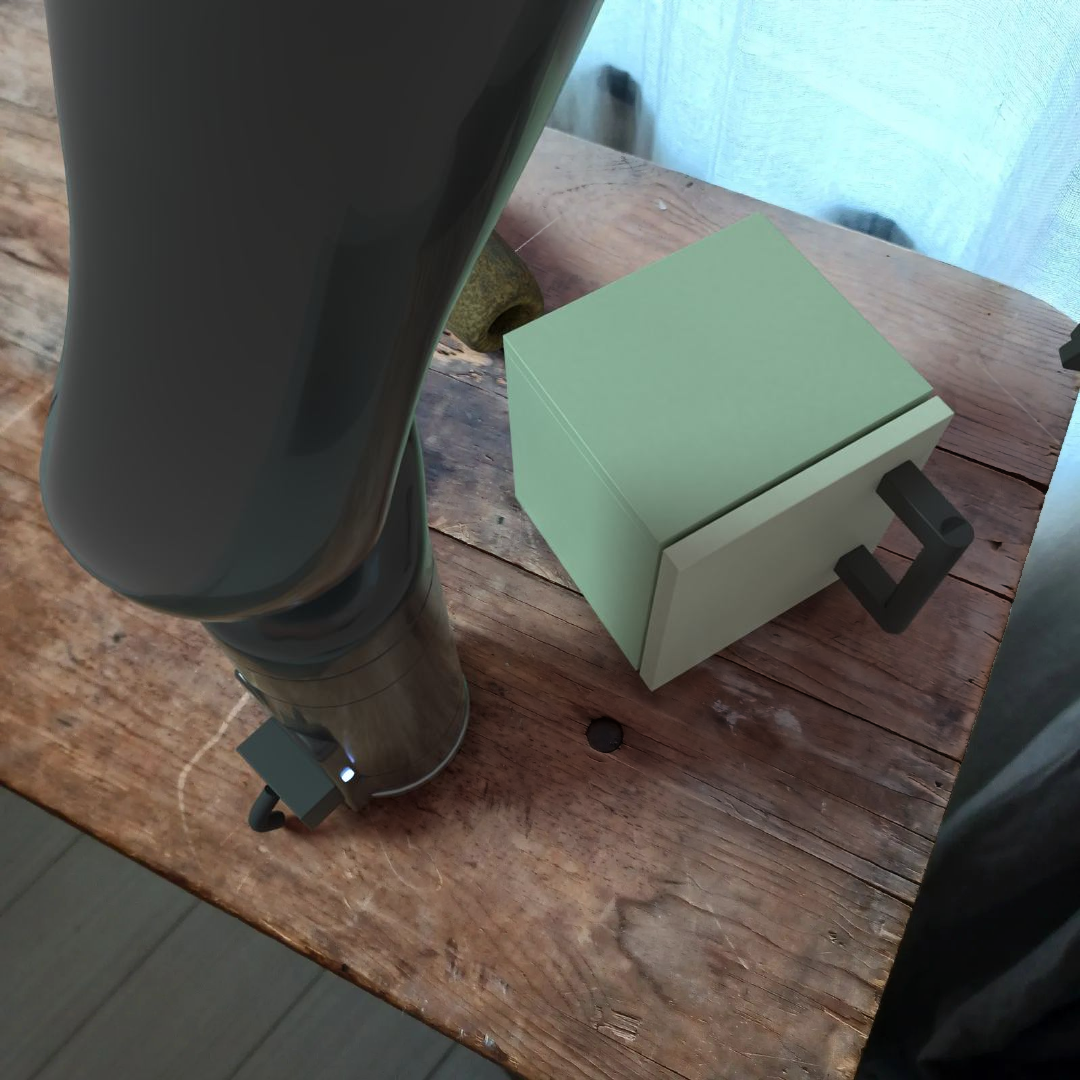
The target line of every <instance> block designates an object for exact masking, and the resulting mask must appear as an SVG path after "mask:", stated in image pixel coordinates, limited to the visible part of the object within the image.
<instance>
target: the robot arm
mask: <svg viewBox="0 0 1080 1080" xmlns="http://www.w3.org/2000/svg"><path fill="white" fill-rule="evenodd" d="M605 1H606V0H43V4H44V13H45V21H46V22H45V23H46V30H47V31H46V32H47V38H48V39H47V40H48V46H49V48H48V49H49V54H50V56H49V57H50V64H51V73H52V82H53V89H54V90H53V91H54V99H55V106H56V113H57V120H58V128H59V135H60V143H61V151H62V159H63V167H64V174H65V175H64V176H65V187H66V196H67V197H66V198H67V208H68V209H67V210H68V219H69V223H68V224H69V225H68V226H69V276H68V277H69V279H68V295H67V311H66V312H67V313H66V321H65V328H64V329H65V331H64V339H63V344H62V345H63V346H62V350H61V354H60V358H59V363H58V368H57V373H56V378H55V382H54V387H53V391H52V396H51V400H50V404H49V411H48V414H47V419H46V423H45V428H44V433H43V439H42V440H43V441H42V446H41V451H40V452H41V453H40V459H39V471H38V472H39V473H38V474H39V490H40V496H41V502H42V506H43V508H44V511H45V512H44V513H45V514H46V517H47V520H48V522H49V524H50V526H51V527H52V530H53V531H54V533H55V534H56V537H57V538H58V539H59V541H60V543H61V544H62V546H63V547H64V548H65V550H66V551H67V552H68V554H69V555H70V556H71V557H72V558H73V559H74V561H76V563H77V564H78V565H79V566H80V567H81V568H82V569H83V570H85V571H86V572H87V573H88V574H89V575H90V576H91V577H92V578H94V579H95V580H96V581H98V582H99V583H101V584H102V585H103V586H105V587H106V588H108V589H109V590H110V591H112V592H113V593H115V594H116V595H118V596H120V597H121V598H124V599H125V600H127V601H129V602H130V603H133V604H136V605H137V606H139V607H141V608H145V609H147V610H150V611H153V612H155V613H159V614H161V615H165V616H169V617H171V618H177V619H182V620H185V621H194V622H199V623H200V624H201V626H202V627H203V629H204V630H205V632H206V633H207V634H208V635H209V637H210V638H211V640H213V641H214V643H215V644H216V645H217V646H218V648H219V649H220V651H222V653H223V654H224V655H225V657H226V658H227V659H228V661H229V662H230V663H231V665H232V666H233V667H234V671H233V675H234V676H235V678H236V680H237V681H238V682H239V684H240V685H241V686H242V687H243V688H244V690H245V691H246V692H247V694H248V695H249V696H250V697H251V699H252V700H253V702H254V703H255V704H256V705H257V706H258V707H259V709H260V710H261V711H262V713H263V714H264V715H265V716H266V717H267V720H266V721H264V722H263V723H262V724H260V726H259V727H257V728H256V730H254V731H253V732H252V733H251V734H250V735H249V736H248V737H247V738H246V739H244V740H243V741H242V742H241V743H240V744H239V745H238V746H236V747H235V751H236V752H237V753H238V754H239V755H240V756H241V758H243V760H244V761H245V762H246V763H247V764H248V765H249V766H250V767H251V769H253V771H254V772H255V773H256V774H257V775H258V776H259V777H260V778H261V779H262V780H263V782H264V783H266V785H265V786H264V787H263V789H262V790H261V792H260V794H259V795H258V796H257V798H256V799H255V802H253V804H252V806H251V807H250V810H249V813H248V817H247V822H248V825H249V827H250V829H251V830H252V831H253V832H257V833H260V834H263V833H268V832H272V831H276V830H280V829H281V828H283V827H284V825H285V824H286V815H285V813H284V812H283V811H282V810H279V809H277V810H274V809H275V807H276V806H277V804H278V802H279V801H280V800H281V801H282V802H283V803H284V804H285V805H286V806H287V807H288V809H289V810H290V811H291V812H292V813H293V814H294V815H295V816H296V818H298V819H299V820H300V822H302V823H303V824H304V825H305V826H306V828H307V829H309V831H314V830H315V829H316V828H317V827H318V826H319V825H320V824H321V823H323V822H324V820H325V819H327V818H328V817H329V816H330V815H331V814H332V813H333V812H334V811H335V810H336V809H337V808H338V807H339V806H340V805H342V803H343V802H344V803H345V804H346V805H347V806H348V807H349V808H350V810H352V811H354V812H360V811H362V809H364V808H365V807H366V806H367V805H368V804H369V803H370V802H371V801H373V800H374V799H377V800H379V799H389V798H394V797H399V796H402V795H405V794H409V793H412V792H413V791H416V790H418V789H420V788H422V787H423V786H425V785H427V784H428V783H430V782H431V781H433V780H434V779H435V778H437V777H438V776H439V775H440V774H441V773H442V772H443V771H444V770H445V769H446V768H447V767H448V766H449V765H450V764H451V762H452V761H453V760H454V758H455V757H456V755H457V753H458V752H459V751H460V750H461V747H462V744H463V743H464V740H465V738H466V735H467V732H468V728H469V725H470V724H469V723H470V718H471V697H470V691H469V687H468V684H467V680H466V677H465V674H464V671H463V668H462V665H461V662H460V658H459V654H458V649H457V645H456V642H455V637H454V633H453V632H454V631H453V629H452V625H451V621H450V615H449V612H448V608H447V604H446V598H445V594H444V591H443V586H442V582H441V579H440V575H439V569H438V565H437V560H436V556H435V553H434V548H433V543H432V539H431V536H430V529H429V518H428V503H427V488H426V487H427V486H426V474H425V464H424V455H423V449H422V442H421V437H420V432H419V426H418V422H417V416H416V411H417V408H418V405H419V400H420V397H421V393H422V391H423V388H424V383H425V381H426V378H427V375H428V372H429V369H430V367H431V363H432V360H433V357H434V354H435V352H436V349H437V348H438V345H439V342H440V340H441V338H442V335H443V332H444V330H445V328H446V326H445V325H446V323H447V320H448V318H449V316H450V313H451V311H452V309H453V307H454V305H455V303H456V301H457V299H458V297H459V295H460V293H461V291H462V289H463V287H464V285H465V283H466V281H467V279H468V277H469V275H470V273H471V271H472V269H473V267H474V265H475V263H476V261H477V259H478V257H479V256H480V254H481V252H482V250H483V248H484V246H485V244H486V242H487V241H488V239H489V237H490V235H491V233H492V231H493V229H495V227H496V225H497V224H498V222H499V220H500V218H501V216H502V215H503V212H504V210H505V208H506V206H507V204H508V203H509V200H510V199H511V196H512V194H513V192H514V190H515V188H516V186H517V184H518V182H519V180H520V178H521V176H522V174H523V172H524V170H525V168H526V166H527V164H528V162H529V160H530V158H531V156H532V154H533V152H534V150H535V148H536V146H537V144H538V142H539V140H540V139H541V136H542V134H543V132H544V129H545V127H546V125H547V123H548V121H549V119H550V117H551V115H552V113H553V112H554V109H555V107H556V105H557V103H558V100H559V98H560V96H561V94H562V92H563V90H564V88H565V86H566V84H567V82H568V80H569V78H570V76H571V74H572V72H573V70H574V67H575V65H576V63H577V61H578V59H579V57H580V55H581V53H582V50H583V49H584V46H585V44H586V42H587V40H588V38H589V36H590V34H591V32H592V29H593V27H594V25H595V22H596V21H597V18H598V16H599V14H600V11H601V10H602V8H603V5H604V3H605ZM1069 336H1070V340H1069V341H1067V342H1066V343H1064V344H1063V345H1061V346H1060V347H1059V348H1058V355H1059V359H1060V363H1061V367H1062V368H1063V369H1065V370H1070V371H1075V372H1079V373H1080V322H1079V323H1078V324H1077V325H1076V327H1074V329H1073V330H1072V331H1071V332H1070V334H1069Z"/></svg>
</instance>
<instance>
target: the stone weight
mask: <svg viewBox="0 0 1080 1080" xmlns="http://www.w3.org/2000/svg"><path fill="white" fill-rule="evenodd" d="M544 298H545V297H544V294H543V291H542V287H540V285H539V282H538V281H537V279H536V277H535V275H534V274H533V272H532V271H531V269H530V267H529V266H528V265H527V263H526V262H525V261H524V260H523V259H522V258H521V257H520V255H519V254H518V253H517V252H516V251H515V249H514V248H513V247H512V246H511V245H510V244H509V243H508V242H507V240H506V239H504V237H502V235H500V233H499V232H497V230H496V229H495V228H494V229H493V231H492V233H491V235H490V237H489V239H488V241H487V242H486V244H485V246H484V248H483V250H482V252H481V254H480V256H479V257H478V259H477V261H476V263H475V265H474V267H473V269H472V271H471V273H470V275H469V277H468V279H467V281H466V283H465V285H464V287H463V289H462V291H461V293H460V295H459V297H458V299H457V301H456V303H455V305H454V307H453V309H452V311H451V313H450V316H449V318H448V320H447V323H446V325H445V328H446V329H447V330H449V332H451V333H452V335H454V336H455V337H456V338H457V339H458V340H459V341H460V342H461V343H463V344H464V345H465V346H467V348H469V349H470V350H472V351H473V352H477V353H479V354H490V353H493V352H496V351H498V350H500V349H502V348H504V342H503V335H505V334H507V333H509V332H511V331H513V330H515V329H517V328H519V327H522V326H524V325H526V324H528V323H530V322H532V321H534V320H536V319H538V318H540V317H542V316H543V314H544V311H545V299H544Z"/></svg>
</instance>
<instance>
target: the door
mask: <svg viewBox="0 0 1080 1080" xmlns="http://www.w3.org/2000/svg"><path fill="white" fill-rule="evenodd" d="M954 416H955V411H954V410H953V409H951V408H950V407H949V406H948V404H947V403H946V402H944V400H943V399H942V398H941V397H940V396H939V395H935V396H933V397H932V398H929V400H928V401H926V402H925V403H923V404H921V405H919V406H918V407H916V408H914V409H912V410H910V411H909V412H907V413H905V414H903V415H902V416H900V417H898V418H896V419H895V420H893V421H891V422H889V423H887V424H886V425H884V426H882V427H880V428H879V429H877V430H875V431H873V432H871V433H870V434H868V435H866V436H864V437H863V438H861V439H859V440H857V441H856V442H854V443H852V444H850V445H848V446H847V447H845V448H843V449H841V450H840V451H838V452H836V453H834V454H833V455H831V456H829V457H827V458H825V459H824V460H822V461H820V462H818V463H817V464H815V465H813V466H811V467H809V468H808V469H806V470H804V471H802V472H801V473H799V474H797V475H795V476H794V477H792V478H790V479H788V480H786V481H785V482H783V483H781V484H779V485H778V486H776V487H774V488H772V489H771V490H769V491H767V492H765V493H763V494H762V495H760V496H758V497H756V498H755V499H753V500H751V501H749V502H747V503H746V504H744V505H742V506H740V507H739V508H737V509H735V510H733V511H732V512H730V513H728V514H726V515H724V516H723V517H721V518H719V519H717V520H716V521H714V522H712V523H710V524H709V525H707V526H705V527H703V528H701V529H700V530H698V531H696V532H694V533H693V534H691V535H689V536H687V537H686V538H684V539H682V540H680V541H678V542H677V543H675V544H673V545H671V546H670V547H668V548H666V549H664V550H663V554H662V559H661V564H660V570H659V575H658V580H657V585H656V590H655V596H654V601H653V606H652V611H651V616H650V622H649V627H648V632H647V637H646V642H645V648H644V653H643V658H642V663H641V668H640V669H639V676H640V678H641V679H642V681H643V682H644V684H645V685H646V687H647V688H648V689H649V690H650V692H653V691H655V690H657V689H658V688H660V687H662V686H664V685H666V684H667V683H669V682H670V681H672V680H673V679H675V678H677V677H679V676H680V675H682V674H684V673H685V672H687V671H688V670H690V669H691V668H693V667H695V666H697V665H699V664H700V663H702V662H703V661H705V660H707V659H709V658H710V657H712V656H713V655H716V654H717V653H718V652H720V651H722V650H723V649H725V648H726V647H728V646H730V645H732V644H734V643H735V642H736V641H738V640H740V639H741V638H743V637H745V636H747V635H748V634H750V633H751V632H753V631H755V630H757V629H758V628H760V627H762V626H764V625H765V624H766V623H768V622H770V621H772V620H773V619H775V618H777V617H778V616H780V615H782V614H783V613H785V612H787V611H788V610H790V609H791V608H793V607H795V606H796V605H798V604H800V603H802V602H803V601H805V600H807V599H808V598H810V597H811V596H813V595H815V594H817V593H818V592H820V591H821V590H823V589H825V588H826V587H828V586H830V585H832V584H834V583H835V582H837V581H838V580H840V581H841V582H842V583H843V584H844V585H845V586H846V588H847V589H848V590H849V591H850V592H851V594H852V595H853V596H854V597H855V598H856V600H857V601H858V603H860V605H861V606H862V607H863V608H864V610H865V611H866V612H867V613H868V614H869V615H870V616H871V618H872V619H873V620H874V622H876V624H877V625H878V626H879V628H880V629H881V630H882V631H884V632H885V633H886V634H889V635H900V634H903V632H905V631H906V630H907V629H908V627H909V626H910V625H911V623H912V622H913V621H914V620H915V618H916V617H917V616H918V614H919V613H920V611H921V610H922V609H923V608H924V606H925V605H926V604H927V602H928V601H929V599H931V597H932V596H933V595H934V593H935V592H936V591H937V589H938V588H939V586H940V585H941V584H942V583H943V581H944V580H945V579H946V577H947V576H948V574H950V572H951V571H952V569H953V568H954V567H955V566H956V564H957V563H958V562H959V560H960V559H961V557H962V556H963V555H964V553H965V552H966V551H967V549H968V548H969V547H970V545H971V544H972V543H973V542H974V539H975V529H974V527H973V525H972V524H971V523H970V522H969V521H968V520H967V519H966V518H965V516H963V515H962V513H960V511H959V510H958V509H957V508H956V507H955V506H954V505H953V504H952V503H951V502H950V500H949V499H948V498H947V497H946V496H944V494H943V493H942V492H941V490H939V488H937V487H936V486H935V484H934V483H933V482H932V481H931V480H930V479H929V478H928V477H927V475H926V474H924V472H923V471H922V470H923V468H924V467H925V465H926V463H927V462H928V460H929V458H930V456H931V455H932V454H933V452H934V450H935V448H936V446H937V445H938V443H939V442H940V439H941V438H942V436H943V434H944V433H945V431H946V429H947V428H948V426H949V424H950V423H951V420H953V417H954ZM895 516H896V517H897V518H898V519H899V520H900V521H901V522H902V523H903V525H904V526H905V527H906V528H907V529H908V530H909V532H910V533H911V534H912V535H913V536H914V537H915V539H916V540H918V542H919V543H920V544H921V545H922V546H923V547H922V548H921V549H920V551H919V553H918V554H917V555H916V557H915V559H914V560H913V561H912V563H911V565H909V567H908V569H907V570H906V572H905V573H904V575H903V576H902V578H901V579H900V581H899V582H898V583H897V582H896V581H895V579H894V578H893V577H892V576H891V575H890V574H889V572H888V571H887V570H886V569H885V568H884V567H883V565H882V564H881V563H880V562H879V561H878V559H877V558H876V557H875V556H874V555H873V553H874V552H875V550H876V549H877V547H878V545H879V544H880V542H881V540H882V539H883V537H884V535H885V533H886V532H887V530H888V528H889V527H890V525H891V523H892V522H893V519H895Z"/></svg>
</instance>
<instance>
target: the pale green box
mask: <svg viewBox="0 0 1080 1080" xmlns="http://www.w3.org/2000/svg"><path fill="white" fill-rule="evenodd" d="M503 342H504V347H503V354H504V364H505V366H504V367H505V377H506V390H507V391H506V392H507V404H508V405H507V406H508V418H509V428H510V431H509V432H510V440H511V441H510V443H511V444H510V445H511V456H512V469H513V481H514V484H513V485H514V495H515V498H516V500H517V502H518V503H519V505H520V506H521V508H522V509H523V510H524V512H525V513H526V514H527V516H528V518H529V519H530V520H531V522H532V523H533V524H534V526H535V527H536V529H537V531H538V532H539V533H540V535H541V536H542V538H543V539H544V540H545V542H546V543H547V546H549V548H550V549H551V550H552V552H553V553H554V555H555V557H556V558H557V559H558V561H559V562H560V563H561V565H562V567H563V568H564V569H565V571H566V572H567V574H568V575H569V576H570V578H571V579H572V581H573V582H574V583H575V585H576V586H577V588H578V590H579V591H580V592H581V594H582V595H583V597H584V598H585V600H586V601H587V603H588V604H589V605H590V607H591V608H592V610H593V611H594V613H595V614H596V616H597V617H598V618H599V620H600V621H601V623H602V624H603V625H604V627H605V629H606V630H607V632H608V633H609V634H610V636H611V637H612V638H613V640H614V642H615V643H616V645H618V647H619V649H620V650H621V651H622V653H623V654H624V656H625V657H626V659H627V660H628V661H629V663H630V664H631V666H632V668H633V669H634V670H635V671H640V669H641V663H642V658H643V653H644V648H645V642H646V637H647V632H648V627H649V622H650V616H651V611H652V606H653V601H654V596H655V590H656V585H657V580H658V575H659V570H660V564H661V559H662V554H663V550H664V549H666V548H668V547H670V546H671V545H673V544H675V543H677V542H678V541H680V540H682V539H684V538H686V537H687V536H689V535H691V534H693V533H694V532H696V531H698V530H700V529H701V528H703V527H705V526H707V525H709V524H710V523H712V522H714V521H716V520H717V519H719V518H721V517H723V516H724V515H726V514H728V513H730V512H732V511H733V510H735V509H737V508H739V507H740V506H742V505H744V504H746V503H747V502H749V501H751V500H753V499H755V498H756V497H758V496H760V495H762V494H763V493H765V492H767V491H769V490H771V489H772V488H774V487H776V486H778V485H779V484H781V483H783V482H785V481H786V480H788V479H790V478H792V477H794V476H795V475H797V474H799V473H801V472H802V471H804V470H806V469H808V468H809V467H811V466H813V465H815V464H817V463H818V462H820V461H822V460H824V459H825V458H827V457H829V456H831V455H833V454H834V453H836V452H838V451H840V450H841V449H843V448H845V447H847V446H848V445H850V444H852V443H854V442H856V441H857V440H859V439H861V438H863V437H864V436H866V435H868V434H870V433H871V432H873V431H875V430H877V429H879V428H880V427H882V426H884V425H886V424H887V423H889V422H891V421H893V420H895V419H896V418H898V417H900V416H902V415H903V414H905V413H907V412H909V411H910V410H912V409H914V408H916V407H918V406H919V405H921V404H923V403H925V402H926V401H928V400H930V399H931V398H930V397H931V396H932V395H933V392H934V390H935V388H934V387H933V386H932V385H931V383H929V381H928V380H927V379H925V377H924V376H922V374H921V373H919V371H917V369H916V368H915V366H913V365H912V364H911V363H910V362H909V361H908V360H907V359H906V358H905V357H904V356H903V355H902V353H900V352H899V351H898V350H897V349H896V348H895V347H894V346H893V345H892V344H891V343H890V342H889V341H888V340H887V338H885V337H884V336H883V335H882V333H880V332H879V330H877V329H876V327H875V326H874V325H872V323H870V322H869V321H868V320H867V318H866V317H865V316H864V315H863V314H862V313H861V312H860V311H859V310H858V309H857V308H856V307H855V306H854V305H853V304H852V303H851V302H850V301H849V300H848V299H847V298H846V297H845V296H844V295H843V294H842V293H841V292H840V291H839V290H838V288H836V286H834V285H833V284H832V283H831V281H829V279H827V277H825V275H824V274H823V273H822V272H820V270H819V269H818V268H817V267H816V266H815V265H814V264H813V263H812V262H811V261H810V260H809V259H808V258H807V257H806V256H805V255H804V254H803V253H802V252H801V251H800V250H799V249H798V248H797V247H796V246H795V245H794V244H793V243H792V242H791V241H790V240H789V239H788V238H787V237H786V235H784V234H783V233H782V232H781V230H780V229H778V228H777V226H776V225H775V224H773V222H772V221H771V220H769V218H768V217H767V216H766V215H764V213H763V212H762V211H761V210H759V211H756V212H755V213H753V214H751V215H748V216H746V217H744V218H742V219H740V220H738V221H735V222H733V223H732V224H730V225H728V226H726V227H724V228H721V229H719V230H718V231H715V232H714V233H712V234H709V235H707V236H705V237H703V238H700V239H699V240H697V241H694V242H692V243H690V244H688V245H687V246H684V247H682V248H681V249H679V250H676V251H674V252H672V253H670V254H668V255H666V256H664V257H662V258H660V259H657V260H656V261H653V262H652V263H650V264H647V265H645V266H643V267H641V268H639V269H637V270H635V271H633V272H631V273H629V274H627V275H624V276H623V277H621V278H619V279H616V280H615V281H612V282H610V283H608V284H606V285H604V286H602V287H600V288H598V289H596V290H593V291H592V292H590V293H587V294H585V295H583V296H581V297H579V298H577V299H575V300H574V301H571V302H569V303H567V304H565V305H563V306H561V307H558V308H556V309H554V310H553V311H551V312H549V313H546V314H544V315H542V317H540V318H538V319H536V320H534V321H532V322H530V323H528V324H526V325H524V326H522V327H519V328H517V329H515V330H513V331H511V332H509V333H507V334H505V335H503Z"/></svg>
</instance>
